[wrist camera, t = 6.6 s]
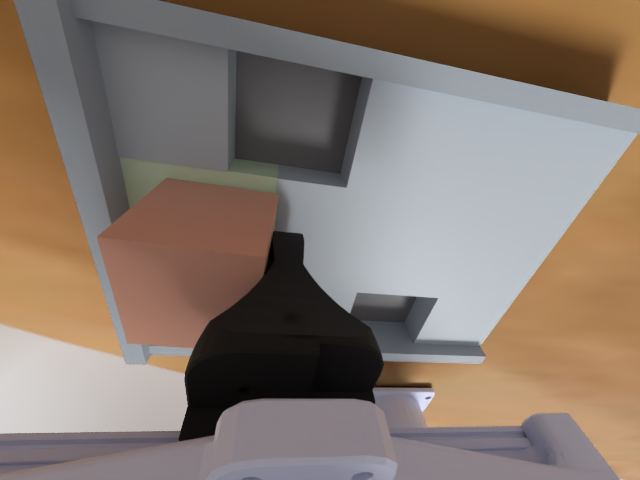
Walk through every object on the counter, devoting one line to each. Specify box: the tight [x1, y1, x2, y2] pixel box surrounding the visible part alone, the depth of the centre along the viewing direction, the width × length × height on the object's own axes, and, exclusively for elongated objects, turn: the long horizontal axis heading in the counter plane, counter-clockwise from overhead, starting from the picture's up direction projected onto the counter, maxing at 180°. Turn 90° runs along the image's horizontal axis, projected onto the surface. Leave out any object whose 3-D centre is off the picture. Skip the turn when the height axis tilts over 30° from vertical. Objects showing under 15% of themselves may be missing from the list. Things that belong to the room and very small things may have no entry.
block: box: [97, 178, 278, 349], centre depth 11 cm, size 4×4×4 cm
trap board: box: [14, 0, 640, 365], centre depth 14 cm, size 16×22×3 cm
